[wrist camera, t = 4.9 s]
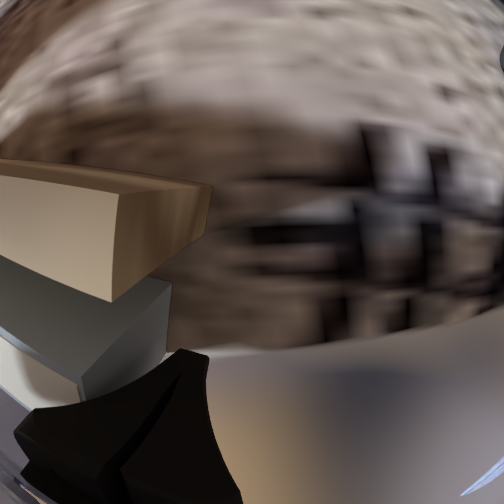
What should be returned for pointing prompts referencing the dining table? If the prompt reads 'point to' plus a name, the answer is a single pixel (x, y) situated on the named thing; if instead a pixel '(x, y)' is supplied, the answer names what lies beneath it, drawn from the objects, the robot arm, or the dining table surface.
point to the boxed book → (75, 337)
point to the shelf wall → (96, 222)
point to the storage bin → (502, 58)
